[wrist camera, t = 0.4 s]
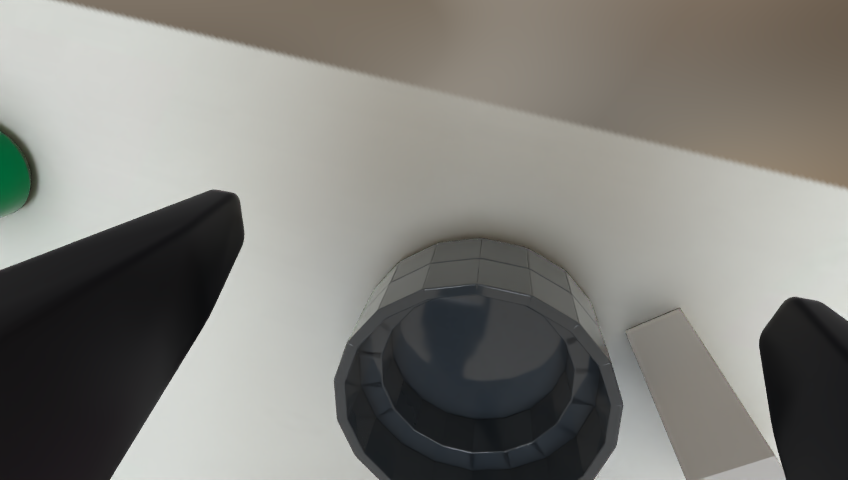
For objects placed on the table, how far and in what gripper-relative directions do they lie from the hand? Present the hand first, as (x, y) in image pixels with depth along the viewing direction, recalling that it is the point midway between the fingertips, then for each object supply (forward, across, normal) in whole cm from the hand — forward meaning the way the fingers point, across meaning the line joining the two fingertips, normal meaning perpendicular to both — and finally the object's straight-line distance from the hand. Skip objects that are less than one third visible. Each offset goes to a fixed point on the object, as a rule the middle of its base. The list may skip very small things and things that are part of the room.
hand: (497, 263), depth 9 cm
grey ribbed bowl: (+12, -1, +15) cm, 19 cm away
